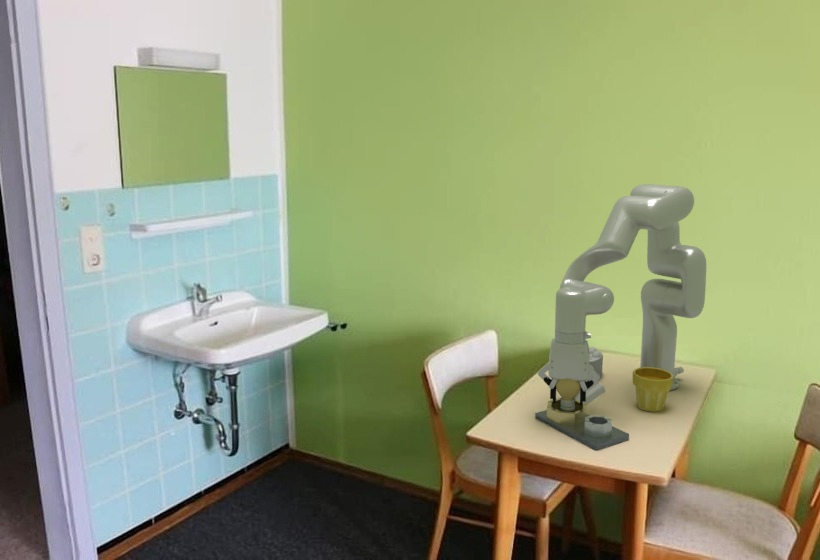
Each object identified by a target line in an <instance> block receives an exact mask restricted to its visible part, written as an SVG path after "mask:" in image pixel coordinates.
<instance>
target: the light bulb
mask: <svg viewBox="0 0 820 560" xmlns="http://www.w3.org/2000/svg"><path fill="white" fill-rule="evenodd" d="M580 389H581V385H580V382H579V381H576V380H572V379H561V380H557V382H556V392H557V393H558V394H559V396H560V398H561V399H560V401H561V402H560V404H561V405H560V408H561V409H562V410H563V411H566V412H571V411H573V410H574V409H575V397H576V396H577V394H578V393H579V391H580Z"/></svg>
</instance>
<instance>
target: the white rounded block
mask: <svg viewBox="0 0 820 560" xmlns="http://www.w3.org/2000/svg"><path fill="white" fill-rule="evenodd" d="M590 366H591V367H592V368H593V366H592V365H590ZM593 369H594V368H593ZM592 377H593V376H592V375H591V374H590V373H589V377H588V379H587V380H586V382H587V381H588V380H589V379H591V378H592ZM605 393H606V390H605V387H604V385H603V384H601V383H600V380H599V381H597V382H595V383H594V384H593V385H592V386H591V387H590V388H588V389H587V391H586V402H583V403H586V404H587V405H590V403H592V402H593V401H594V400H596V399H598V397H601V395H603V394H605ZM575 399H577V400H579V401H580V391H579V393H578V394H577V396H576V397H575Z"/></svg>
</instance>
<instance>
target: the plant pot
mask: <svg viewBox="0 0 820 560" xmlns="http://www.w3.org/2000/svg"><path fill="white" fill-rule="evenodd" d="M632 384H633V385H634V389H635V395H636V403H637V407H638V408H639V409H641V410H643V411H646V412H653V413H654V412H660V411H663V409H664V407H665V403H666V400H667V397H668V394H669V391H671V390H670V389H671V388H672V384H673V374H672V373H670V372H669V371H667V370H664V369H660V368H654V367H641V368H640V367H638V368H635V369H634V370H633V371H632Z"/></svg>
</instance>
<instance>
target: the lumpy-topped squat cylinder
mask: <svg viewBox="0 0 820 560" xmlns="http://www.w3.org/2000/svg"><path fill="white" fill-rule="evenodd" d="M603 363H604V354H603V352H602V351H600V350H599V349H597V348H596V347H594V346H593V347H589V365H592V366H593V368H594V370H595V371H596V372H597V373H598V374H599V375H600V379H599V380H598V381H599V382H600V380H601V379H602V378H603Z"/></svg>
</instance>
